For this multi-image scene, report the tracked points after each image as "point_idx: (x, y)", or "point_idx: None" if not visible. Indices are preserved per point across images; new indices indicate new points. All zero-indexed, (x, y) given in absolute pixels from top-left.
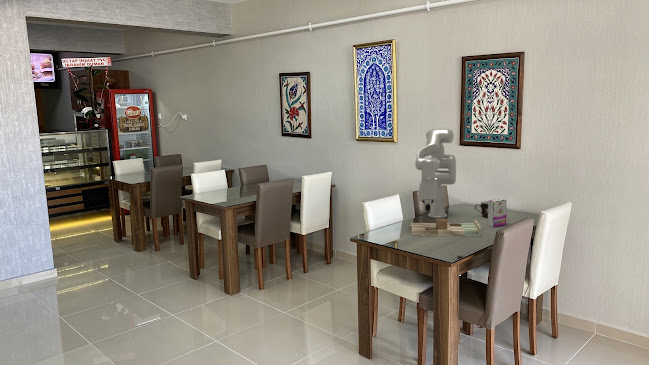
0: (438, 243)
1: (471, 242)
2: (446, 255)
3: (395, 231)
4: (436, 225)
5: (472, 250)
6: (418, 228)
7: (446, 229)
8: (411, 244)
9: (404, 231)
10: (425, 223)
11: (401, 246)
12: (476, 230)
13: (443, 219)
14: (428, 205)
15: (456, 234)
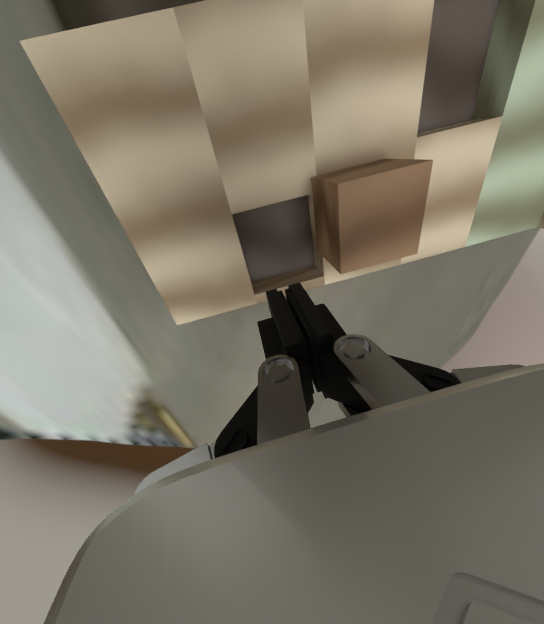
0: None
1: (434, 323)
2: None
3: (21, 247)
4: (322, 229)
5: None
6: (197, 265)
7: None
8: (226, 407)
9: (84, 228)
10: (196, 32)
11: (200, 432)
12: (533, 214)
13: (400, 202)
14: (321, 389)
15: None
